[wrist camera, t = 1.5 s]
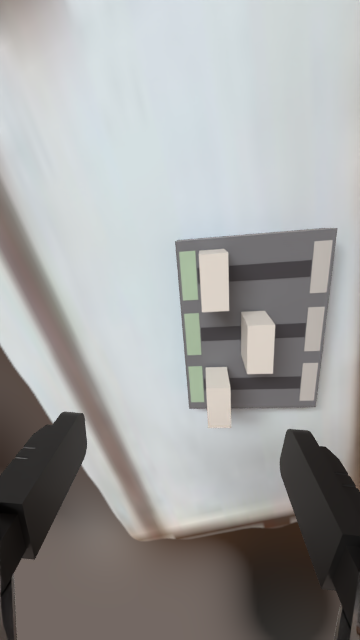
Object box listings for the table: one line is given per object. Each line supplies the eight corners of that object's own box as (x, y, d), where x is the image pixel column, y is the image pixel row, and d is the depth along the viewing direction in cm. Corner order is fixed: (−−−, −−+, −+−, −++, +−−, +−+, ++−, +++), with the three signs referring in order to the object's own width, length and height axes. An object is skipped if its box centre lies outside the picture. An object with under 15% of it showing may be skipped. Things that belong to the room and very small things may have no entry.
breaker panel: (322, 228, 26) (337, 228, 23) (305, 391, 33) (315, 407, 30) (177, 240, 28) (175, 241, 25) (190, 393, 34) (189, 408, 31)
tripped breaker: (264, 310, 26) (275, 324, 22) (263, 353, 28) (272, 373, 24) (241, 311, 26) (247, 325, 23) (241, 354, 28) (247, 374, 24)
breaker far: (226, 366, 29) (230, 387, 25) (227, 403, 30) (231, 427, 27) (205, 367, 29) (206, 388, 25) (207, 403, 31) (208, 427, 27)
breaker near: (224, 248, 24) (228, 252, 21) (225, 298, 26) (229, 311, 22) (199, 250, 25) (198, 254, 21) (202, 300, 26) (201, 312, 22)
